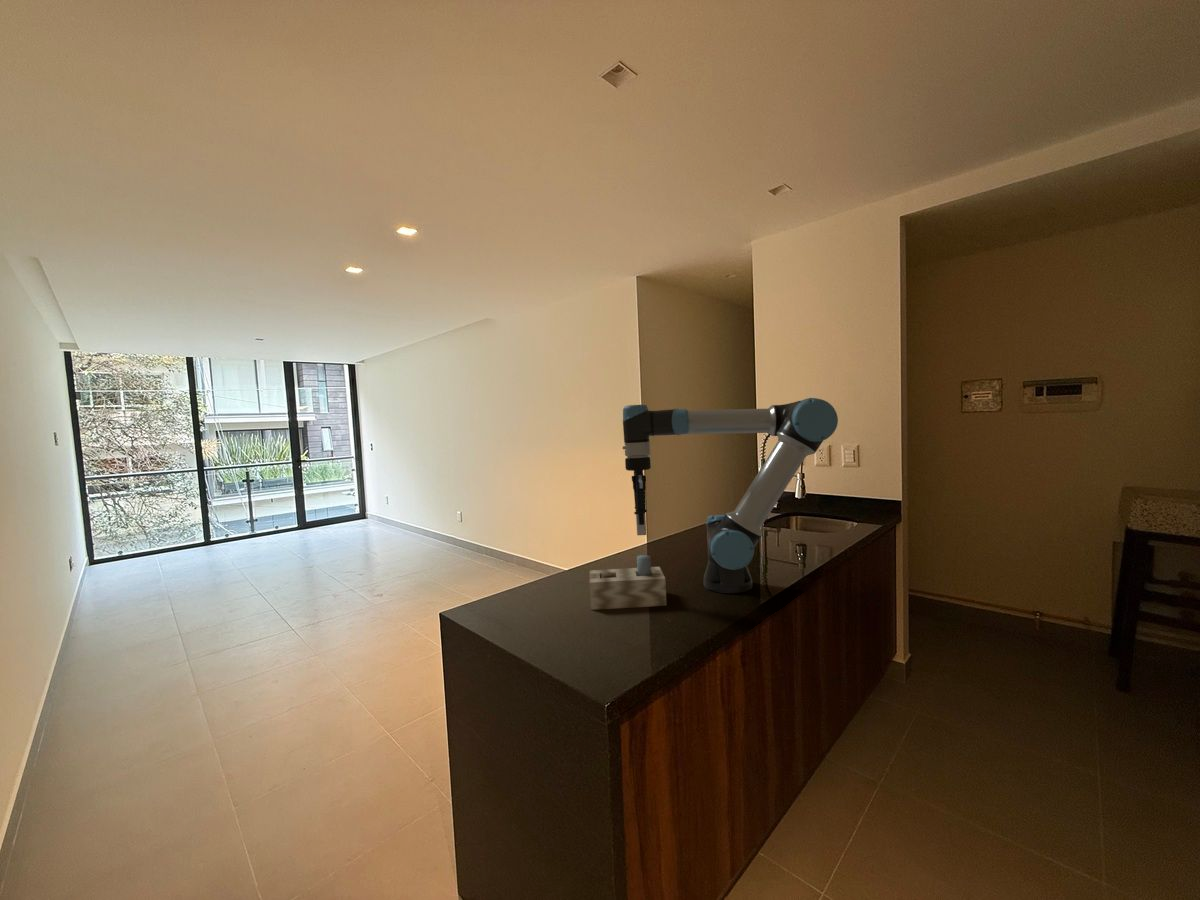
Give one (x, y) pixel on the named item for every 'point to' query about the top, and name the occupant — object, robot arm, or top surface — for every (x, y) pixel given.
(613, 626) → the top surface
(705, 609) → the top surface
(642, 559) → the blue peg
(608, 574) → the walnut peg
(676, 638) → the top surface
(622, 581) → the birch block
